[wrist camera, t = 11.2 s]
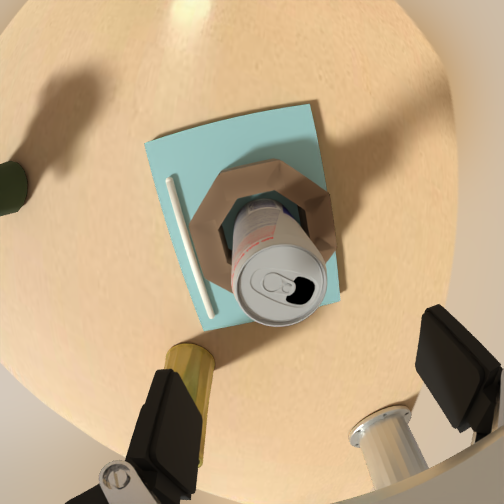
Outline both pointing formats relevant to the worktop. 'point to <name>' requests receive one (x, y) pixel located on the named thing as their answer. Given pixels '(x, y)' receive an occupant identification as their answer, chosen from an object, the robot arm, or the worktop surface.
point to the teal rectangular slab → (204, 174)
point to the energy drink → (275, 265)
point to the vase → (194, 378)
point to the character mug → (12, 187)
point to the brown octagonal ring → (250, 183)
